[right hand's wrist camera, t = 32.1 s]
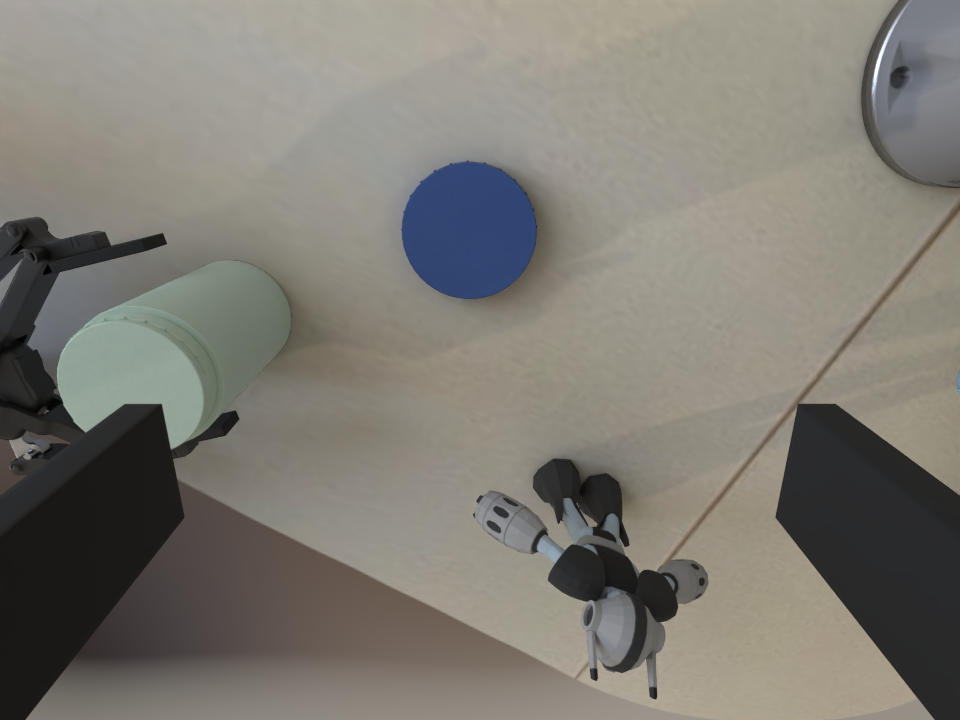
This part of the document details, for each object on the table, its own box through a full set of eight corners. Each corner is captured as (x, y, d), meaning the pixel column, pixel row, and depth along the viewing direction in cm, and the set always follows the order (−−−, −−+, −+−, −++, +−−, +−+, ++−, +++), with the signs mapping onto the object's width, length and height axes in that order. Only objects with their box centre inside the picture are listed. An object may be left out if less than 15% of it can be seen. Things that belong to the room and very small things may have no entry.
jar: (239, 237, 45) (128, 282, 31) (314, 327, 48) (244, 409, 33) (157, 301, 47) (15, 373, 33) (233, 385, 50) (132, 486, 35)
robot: (688, 500, 54) (803, 693, 35) (662, 542, 55) (759, 749, 36) (486, 426, 51) (493, 592, 32) (465, 472, 52) (459, 657, 34)
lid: (421, 304, 47) (419, 311, 45) (389, 176, 44) (385, 178, 42) (544, 279, 47) (547, 285, 45) (521, 147, 43) (523, 147, 41)
